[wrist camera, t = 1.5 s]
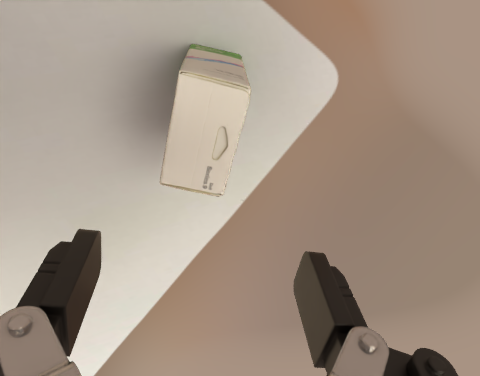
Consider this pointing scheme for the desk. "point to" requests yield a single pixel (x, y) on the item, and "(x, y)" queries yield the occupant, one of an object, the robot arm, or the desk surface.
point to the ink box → (205, 121)
